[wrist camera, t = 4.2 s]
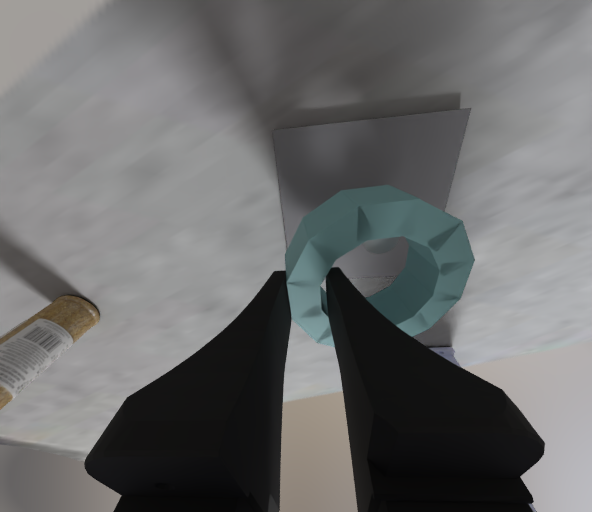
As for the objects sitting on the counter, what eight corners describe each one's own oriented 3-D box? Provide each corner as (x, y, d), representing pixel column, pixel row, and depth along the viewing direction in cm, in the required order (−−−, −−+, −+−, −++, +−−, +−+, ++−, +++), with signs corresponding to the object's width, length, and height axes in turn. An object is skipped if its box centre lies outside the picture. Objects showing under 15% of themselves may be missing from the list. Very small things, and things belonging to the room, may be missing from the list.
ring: (451, 176, 10) (501, 188, 7) (418, 307, 14) (445, 340, 11) (276, 197, 10) (276, 215, 7) (295, 322, 14) (298, 358, 11)
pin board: (460, 109, 13) (546, 95, 9) (422, 267, 19) (461, 311, 15) (274, 130, 14) (258, 128, 10) (292, 275, 20) (288, 318, 15)
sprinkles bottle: (48, 297, 23) (-221, 467, 11) (83, 290, 22) (-164, 463, 10) (79, 326, 25) (-119, 494, 13) (111, 321, 24) (-67, 492, 13)
